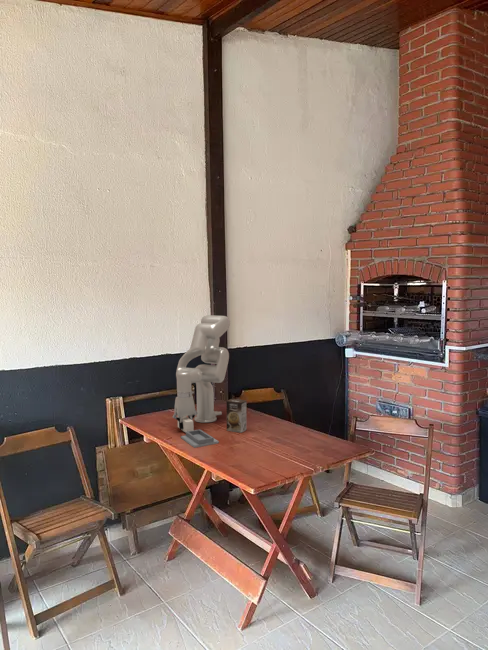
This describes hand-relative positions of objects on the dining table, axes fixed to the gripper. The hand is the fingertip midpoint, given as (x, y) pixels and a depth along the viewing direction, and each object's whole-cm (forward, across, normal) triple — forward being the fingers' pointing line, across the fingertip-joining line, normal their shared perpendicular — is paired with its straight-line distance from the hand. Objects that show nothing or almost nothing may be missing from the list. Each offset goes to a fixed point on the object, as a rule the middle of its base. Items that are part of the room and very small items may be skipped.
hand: (185, 427), depth 280 cm
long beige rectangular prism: (+1, 0, 0) cm, 1 cm away
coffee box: (+2, -23, +13) cm, 27 cm away
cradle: (+1, +1, +19) cm, 19 cm away
